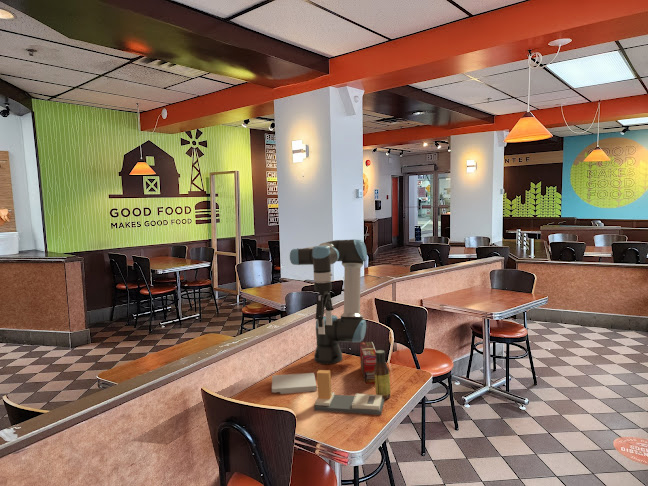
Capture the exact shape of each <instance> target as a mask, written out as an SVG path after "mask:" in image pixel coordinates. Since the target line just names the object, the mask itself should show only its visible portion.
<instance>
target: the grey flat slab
mask: <svg viewBox="0 0 648 486" xmlns="http://www.w3.org/2000/svg"><path fill="white" fill-rule="evenodd" d="M271 378H272V379H271V381H272V382H271V393H279V394H280V395H284V394H285V395H286V394H297V393H307V392H316V391H318V385H317V380H316V376H315V372H305V373H289V374H276V375H274V374H273V375H272V377H271Z"/></svg>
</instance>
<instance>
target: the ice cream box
mask: <svg viewBox="0 0 648 486" xmlns="http://www.w3.org/2000/svg"><path fill="white" fill-rule="evenodd" d="M375 351H377V350H376V348H375V345H374V343H373V341H361V342H359V354H360V356H359V357H360V358H359V361H360V369H361V373H362V377H363V382H364V385H375V375H374V373H375V372H374V366H375V365H376V355H375Z"/></svg>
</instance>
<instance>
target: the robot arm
mask: <svg viewBox="0 0 648 486" xmlns="http://www.w3.org/2000/svg"><path fill="white" fill-rule="evenodd" d="M289 260H290V263H291V264H292V265H295V266H304V265H305V266H306V265H310V266H312V267H313V281H314V285H313V286H314V287H313V288H314V291H315V292H318V295H316V311H315V316H314V319H315V335H316V338H315V339H316V348H315V352H314V357H313V358H314V362H315V363H318V364H321V365H333V364H337V363H340V362H341V361H342V360H343V353H342V350H341V348H340V345H339V342H340V343H341V342H345V343H360V342H363V341H364V338H365V337H366V333H367V332H366V331H367V321H366V319H364V316H363V314H362V313H361V268H362V267H363V266H364V262H366V261H367V260H368V252H367V246H366V244H365V242H364V240H362V239H355V238H354V239H335V240H329V241H326V242H322V243H320V244H319V245H315V246H310V247H309V246H308V247H305V248H292V249H291V250H290V252H289ZM336 262H341V266H343V268H344V275H343V277H344V278H343V280H344V282H343V313H342V314H341V315H340V318H338V316H337V315H333V314H332V311H334V307H333V303H332V302H333V301H332V297H331V291H332V290H333V287H332V286H333V285H332V284H333V283H332V276H333V273H332V267H331V265H333V264H335V263H336ZM324 315H325V316H324Z"/></svg>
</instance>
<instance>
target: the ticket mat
mask: <svg viewBox="0 0 648 486" xmlns="http://www.w3.org/2000/svg"><path fill="white" fill-rule="evenodd" d="M384 405H385V399H384V398H383V397H382V395H376V394H373V393H372V394H369V393H355V395H345V394H335V396H334V398H333V400H332V402H331V404H330V406H322V405H315V404H314V407H313V409H314V411H317V412H318V411H319V412H332V413H333V412H334V413H346V414H348V413H349V414H360V415H361V414H364V415H375V416H381V415H382V413H383V408H384Z"/></svg>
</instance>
